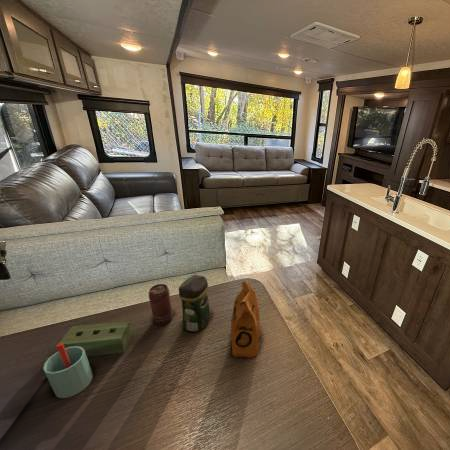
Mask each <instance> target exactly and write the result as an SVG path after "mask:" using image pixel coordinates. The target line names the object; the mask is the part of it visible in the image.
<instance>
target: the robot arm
mask: <svg viewBox="0 0 450 450" xmlns="http://www.w3.org/2000/svg"><path fill="white" fill-rule="evenodd" d="M7 253H8V251H7V242H6V241H5V240H0V281H7V280H10V279H12V276H11V274H10V272H9V268H8V267H7V265H6V263H7V261H8V260H7V258H6V257H7Z"/></svg>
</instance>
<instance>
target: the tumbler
mask: <svg viewBox="0 0 450 450" xmlns="http://www.w3.org/2000/svg"><path fill="white" fill-rule="evenodd" d="M65 350H66V353H67V355H68V358H69V360H70V363H71V365H72V366H70V367H69V368H67V369H65V366H64V364H63V361H62V359H61V356H60V354H59V352H58V351H56V352H55V353H53V354H52V355H51V356H50V357H48V358H47V359H46V361H45V362H44V364H43V367H42V370H43V372H44V374H45V377H46V378H47V381H48V383H49V385H50V387H51V389H52V392H53V393H54V395H55V396H56V398H58V399H68V398H71V397H74V396H76V395H78V394H79V393H81V392H83V391H84V390H85V389H86V388H87V387H88V386H89V385H90V384H91V382H92V380H93V377H94V374H93V369H92V367H91V365H90V362H89V359H88V357H87V356H86V353H85V350H84V349H83V348H82V347H78V346H74V347H68V348H65Z"/></svg>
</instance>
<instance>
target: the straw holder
mask: <svg viewBox="0 0 450 450" xmlns="http://www.w3.org/2000/svg"><path fill="white" fill-rule="evenodd" d="M131 326H132V325H131V322H130V320H127V321H117V322H116V321H115V322H105V323H95V324H83V325H74V326H73V325H72V326H71V327H70V328H69V330H68V331H67V333H65V335H64V336H63V337H62V339H61V340H60V341H59V343H63V345H64V348H68V347H74V346H78V347H82V348H83V349H84V350H85V353H86V356H87V358H88V357H96V356H104V355H113V354H120V353H125V352H126V349H127V348H128V345H129V344H130V341H131V339H132V336H133V335H134V334H133V330H132V327H131Z"/></svg>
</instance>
